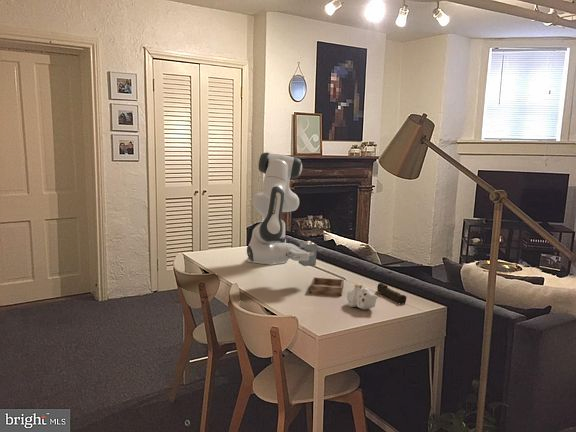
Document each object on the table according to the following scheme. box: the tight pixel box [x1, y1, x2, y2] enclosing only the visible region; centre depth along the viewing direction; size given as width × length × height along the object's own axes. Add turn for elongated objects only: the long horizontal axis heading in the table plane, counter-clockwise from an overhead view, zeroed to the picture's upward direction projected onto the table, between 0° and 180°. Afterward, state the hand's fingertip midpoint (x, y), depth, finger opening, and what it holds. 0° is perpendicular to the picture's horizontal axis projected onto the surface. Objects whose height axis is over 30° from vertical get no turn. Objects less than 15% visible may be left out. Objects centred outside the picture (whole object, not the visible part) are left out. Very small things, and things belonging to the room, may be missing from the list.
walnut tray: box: [309, 277, 345, 297], centre depth 217 cm, size 14×14×4 cm
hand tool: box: [376, 282, 407, 304], centre depth 210 cm, size 19×4×5 cm, turn 20°
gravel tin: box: [298, 240, 318, 267], centre depth 223 cm, size 6×6×11 cm
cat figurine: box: [346, 284, 379, 311], centre depth 194 cm, size 10×8×15 cm
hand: (309, 251), depth 223 cm, fingers closed on gravel tin, 6 cm apart
